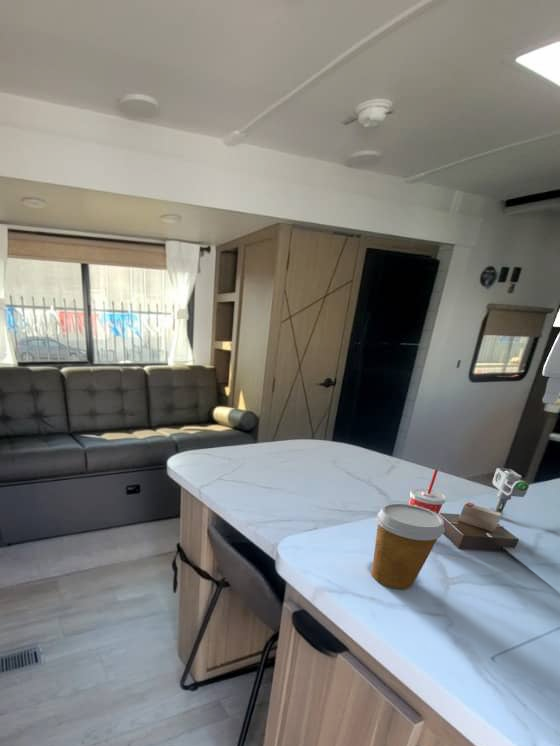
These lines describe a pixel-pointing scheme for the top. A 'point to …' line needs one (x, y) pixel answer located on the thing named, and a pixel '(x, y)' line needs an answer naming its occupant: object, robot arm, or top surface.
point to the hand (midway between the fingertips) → (554, 400)
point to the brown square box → (476, 535)
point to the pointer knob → (480, 517)
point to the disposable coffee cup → (404, 543)
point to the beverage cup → (428, 497)
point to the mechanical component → (508, 486)
